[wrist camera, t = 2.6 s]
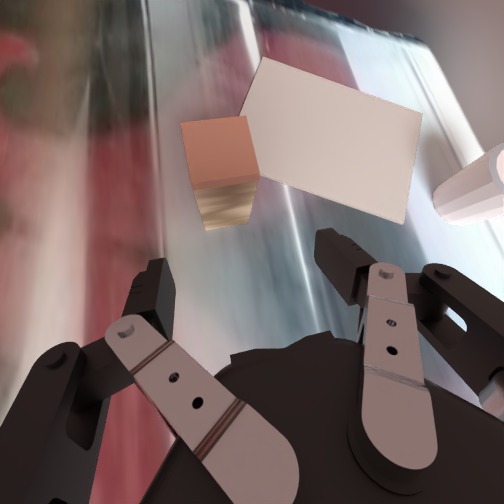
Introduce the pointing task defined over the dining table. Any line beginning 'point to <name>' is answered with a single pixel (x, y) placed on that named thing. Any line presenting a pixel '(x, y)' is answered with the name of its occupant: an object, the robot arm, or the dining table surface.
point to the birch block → (221, 169)
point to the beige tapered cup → (473, 191)
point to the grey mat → (332, 139)
